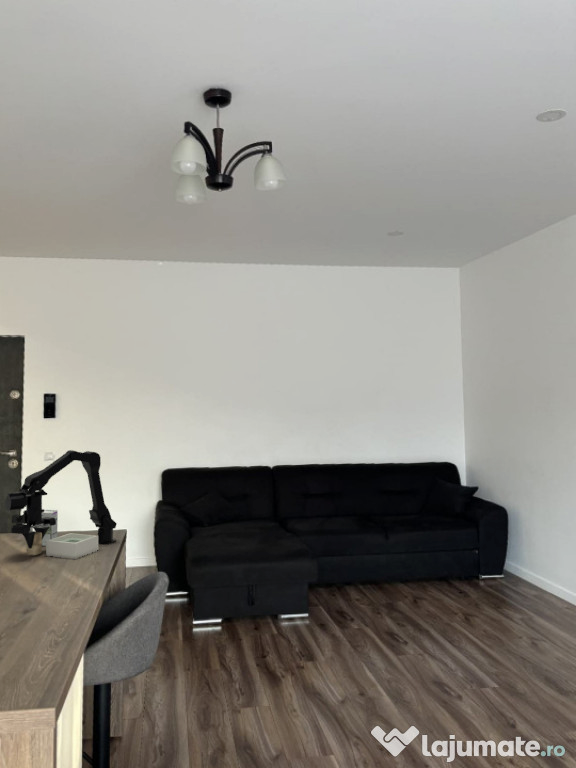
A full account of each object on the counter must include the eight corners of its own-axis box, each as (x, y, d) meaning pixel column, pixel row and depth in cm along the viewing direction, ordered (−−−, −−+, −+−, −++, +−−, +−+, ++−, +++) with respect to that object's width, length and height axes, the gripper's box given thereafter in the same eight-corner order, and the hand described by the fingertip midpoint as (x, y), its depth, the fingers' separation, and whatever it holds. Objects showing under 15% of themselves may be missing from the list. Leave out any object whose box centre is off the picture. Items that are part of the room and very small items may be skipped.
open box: (70, 547, 261) (70, 533, 261) (98, 550, 256) (98, 535, 256) (46, 556, 248) (46, 540, 248) (75, 559, 243) (75, 543, 243)
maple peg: (33, 551, 251) (33, 531, 251) (41, 552, 250) (41, 532, 250) (26, 554, 247) (26, 533, 247) (34, 555, 246) (34, 534, 246)
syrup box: (58, 543, 269) (58, 509, 269) (51, 546, 263) (51, 512, 263) (45, 543, 269) (45, 509, 269) (38, 546, 263) (38, 511, 263)
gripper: (34, 502, 260) (34, 540, 260) (-1, 510, 243) (-1, 551, 243) (56, 503, 256) (56, 542, 256) (22, 512, 239) (22, 553, 239)
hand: (34, 547), depth 249 cm, fingers closed on maple peg, 4 cm apart
